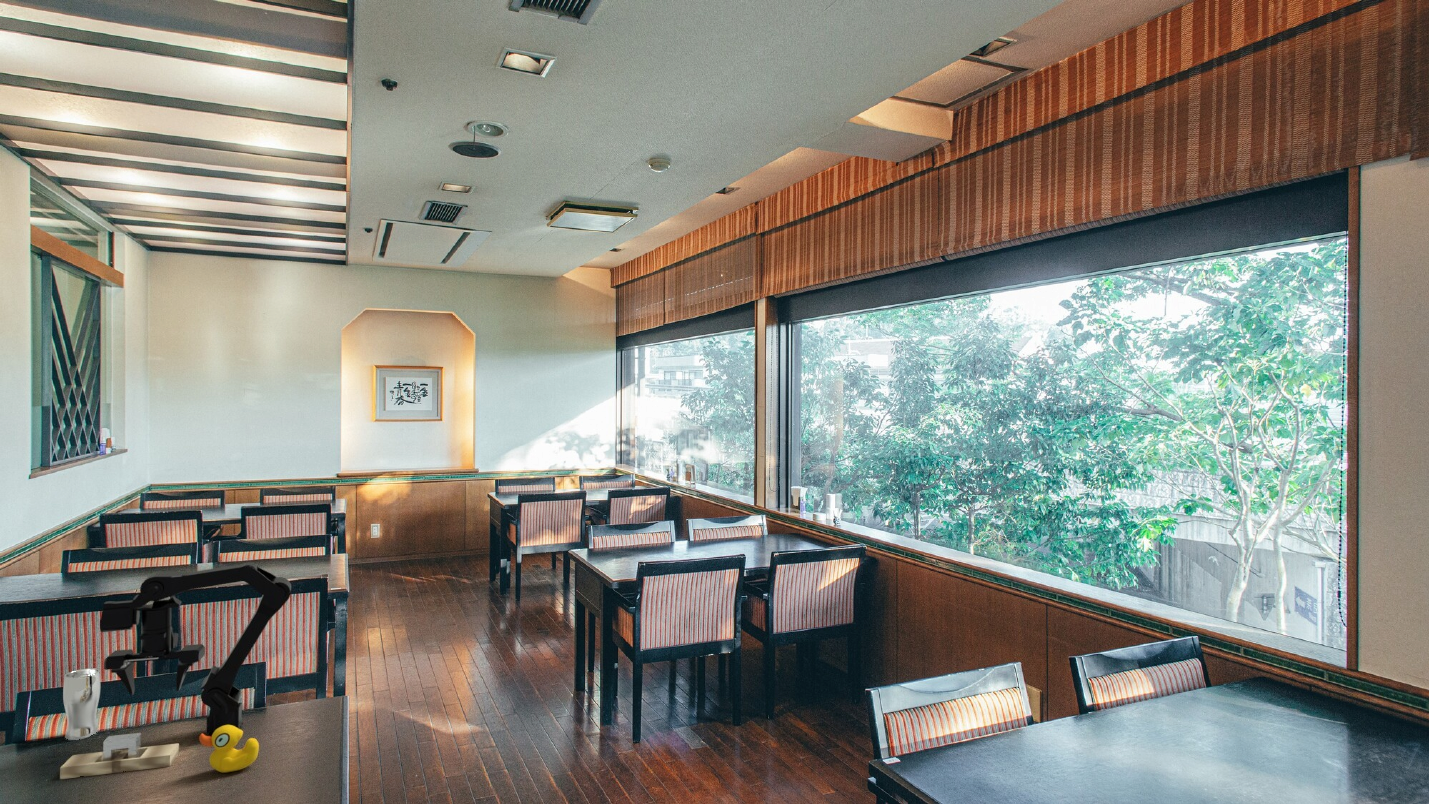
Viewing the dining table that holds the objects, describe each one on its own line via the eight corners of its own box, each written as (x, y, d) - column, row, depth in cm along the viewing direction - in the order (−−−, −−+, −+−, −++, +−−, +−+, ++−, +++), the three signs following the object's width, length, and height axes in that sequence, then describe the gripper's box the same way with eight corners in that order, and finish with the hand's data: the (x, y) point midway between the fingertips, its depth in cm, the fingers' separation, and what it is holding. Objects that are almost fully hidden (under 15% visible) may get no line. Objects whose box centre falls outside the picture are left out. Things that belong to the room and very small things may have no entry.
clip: (140, 761, 174) (140, 732, 174) (135, 767, 171) (136, 738, 171) (108, 765, 172) (108, 736, 172) (103, 771, 169) (103, 741, 169)
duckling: (195, 780, 166) (196, 734, 166) (202, 769, 171) (202, 724, 171) (256, 772, 170) (256, 727, 170) (260, 761, 175) (261, 717, 175)
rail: (178, 754, 178) (178, 743, 178) (170, 766, 172) (170, 755, 172) (72, 766, 171) (72, 755, 171) (60, 779, 165) (60, 767, 165)
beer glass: (107, 729, 189) (108, 668, 189) (81, 742, 183) (82, 679, 182) (81, 727, 190) (82, 667, 190) (54, 740, 183) (55, 677, 183)
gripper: (211, 614, 193) (210, 676, 193) (122, 620, 187) (121, 684, 187) (198, 627, 183) (197, 693, 183) (103, 634, 177) (102, 702, 177)
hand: (155, 692), depth 183 cm, fingers open, 9 cm apart
